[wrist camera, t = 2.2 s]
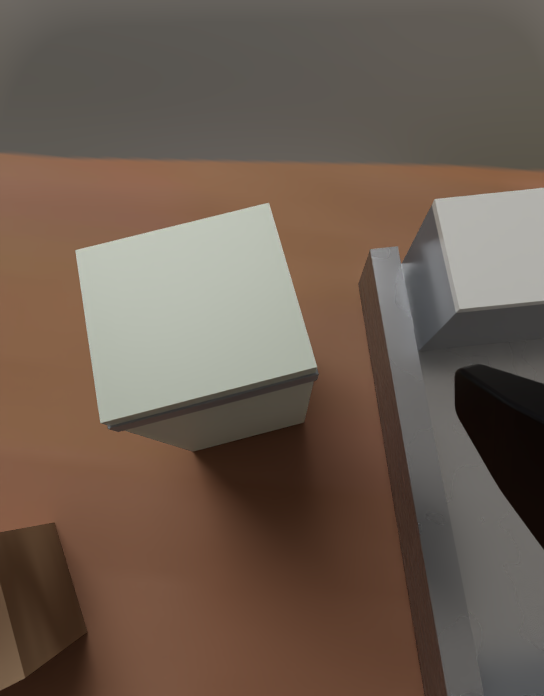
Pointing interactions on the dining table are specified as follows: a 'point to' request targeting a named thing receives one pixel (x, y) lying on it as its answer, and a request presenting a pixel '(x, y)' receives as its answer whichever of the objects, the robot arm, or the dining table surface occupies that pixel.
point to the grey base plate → (453, 506)
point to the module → (478, 270)
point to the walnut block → (34, 602)
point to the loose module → (197, 331)
